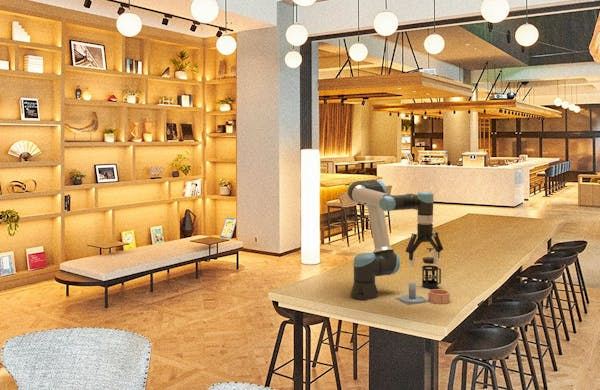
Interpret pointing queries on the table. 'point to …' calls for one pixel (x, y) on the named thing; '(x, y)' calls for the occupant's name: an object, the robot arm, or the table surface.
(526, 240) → the table surface
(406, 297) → the lid
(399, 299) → the mat
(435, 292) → the bowl
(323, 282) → the table surface
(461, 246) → the table surface
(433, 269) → the french press
